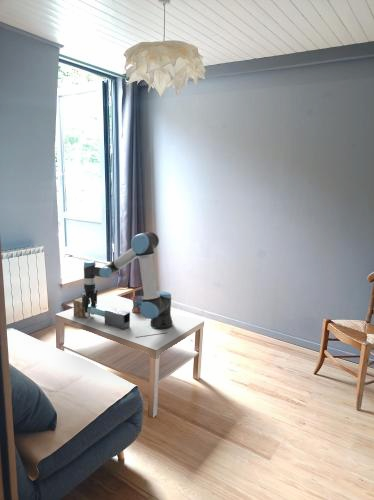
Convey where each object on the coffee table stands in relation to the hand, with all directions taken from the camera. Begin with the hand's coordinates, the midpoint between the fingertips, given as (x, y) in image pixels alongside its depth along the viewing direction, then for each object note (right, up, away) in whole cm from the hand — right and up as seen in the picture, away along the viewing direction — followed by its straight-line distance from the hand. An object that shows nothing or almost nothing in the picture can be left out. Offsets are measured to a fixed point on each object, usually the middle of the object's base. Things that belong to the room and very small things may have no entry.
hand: (89, 315), depth 260 cm
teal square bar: (+5, +2, -3) cm, 6 cm away
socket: (-7, -1, +4) cm, 8 cm away
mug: (+32, 0, +18) cm, 37 cm away
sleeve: (+21, -5, -11) cm, 25 cm away
